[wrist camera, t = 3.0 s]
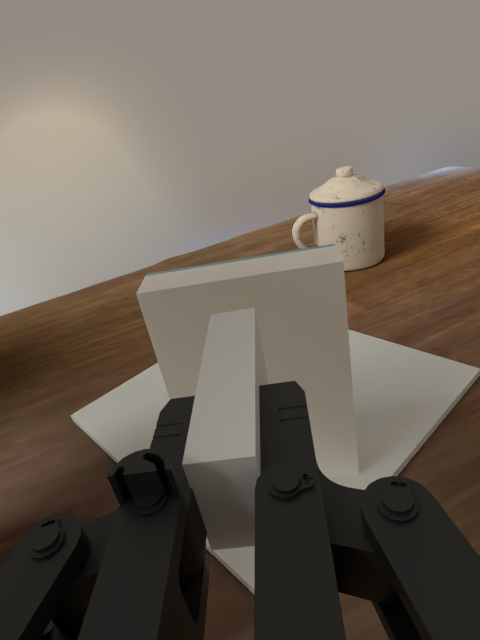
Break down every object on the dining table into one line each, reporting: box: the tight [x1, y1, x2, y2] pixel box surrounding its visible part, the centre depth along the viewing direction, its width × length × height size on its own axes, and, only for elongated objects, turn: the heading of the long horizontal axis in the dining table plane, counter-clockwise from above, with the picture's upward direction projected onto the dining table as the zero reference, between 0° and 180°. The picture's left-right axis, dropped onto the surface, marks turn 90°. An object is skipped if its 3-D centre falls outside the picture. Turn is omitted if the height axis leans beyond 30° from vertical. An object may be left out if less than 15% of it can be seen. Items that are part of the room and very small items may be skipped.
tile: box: [136, 244, 359, 477], centre depth 25 cm, size 2×10×14 cm, turn 88°
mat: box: [70, 330, 480, 594], centre depth 36 cm, size 24×23×1 cm
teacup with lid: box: [292, 166, 385, 271], centre depth 55 cm, size 12×9×12 cm
